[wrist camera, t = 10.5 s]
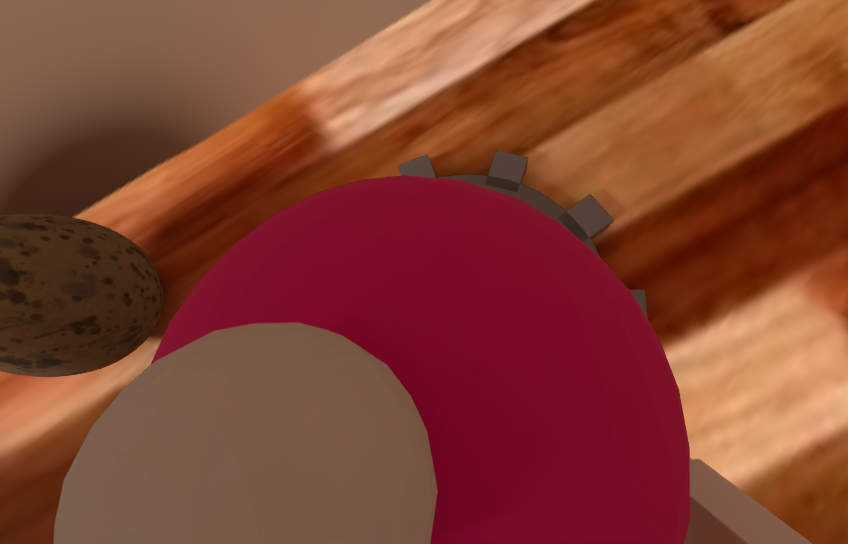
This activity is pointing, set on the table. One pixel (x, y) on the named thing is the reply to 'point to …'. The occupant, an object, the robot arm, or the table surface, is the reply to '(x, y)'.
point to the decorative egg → (71, 296)
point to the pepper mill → (394, 389)
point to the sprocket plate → (531, 198)
